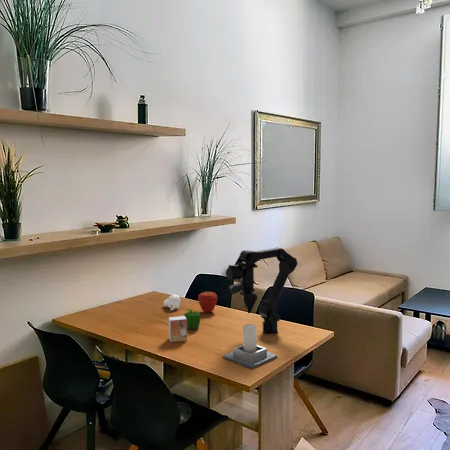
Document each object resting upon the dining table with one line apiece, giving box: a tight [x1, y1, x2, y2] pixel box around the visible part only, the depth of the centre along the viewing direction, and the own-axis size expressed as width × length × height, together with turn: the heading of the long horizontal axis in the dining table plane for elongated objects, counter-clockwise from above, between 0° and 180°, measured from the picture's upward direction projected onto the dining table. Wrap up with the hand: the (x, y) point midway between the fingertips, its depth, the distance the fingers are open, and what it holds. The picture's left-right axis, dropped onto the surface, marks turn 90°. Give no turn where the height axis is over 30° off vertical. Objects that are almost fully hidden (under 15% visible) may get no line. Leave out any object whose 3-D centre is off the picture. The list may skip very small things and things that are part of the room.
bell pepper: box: [183, 308, 202, 330], centre depth 221 cm, size 8×8×10 cm
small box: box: [168, 315, 188, 343], centre depth 204 cm, size 8×6×10 cm
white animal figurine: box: [163, 294, 182, 311], centre depth 255 cm, size 6×8×12 cm
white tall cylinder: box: [242, 323, 258, 354], centre depth 182 cm, size 6×6×12 cm
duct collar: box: [222, 344, 278, 370], centre depth 183 cm, size 16×16×4 cm
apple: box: [197, 291, 218, 314], centre depth 247 cm, size 11×11×12 cm
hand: (247, 310), depth 206 cm, fingers open, 9 cm apart
